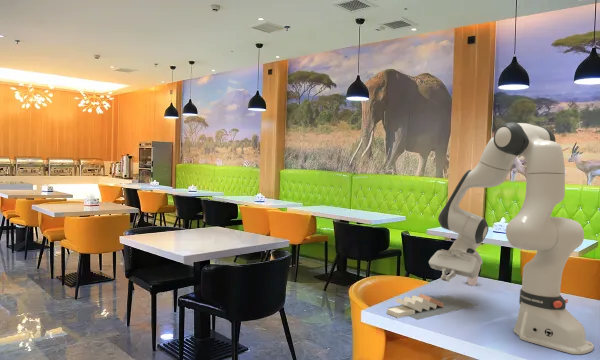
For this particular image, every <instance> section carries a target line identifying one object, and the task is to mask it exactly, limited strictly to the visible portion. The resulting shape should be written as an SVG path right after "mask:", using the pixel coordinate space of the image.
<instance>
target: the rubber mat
mask: <svg viewBox="0 0 600 360" xmlns="http://www.w3.org/2000/svg"><path fill="white" fill-rule="evenodd" d="M432 298H433V299H436V300H438V301H440V302H442V303H444V305H443V308H442V307H439V306H437V307H436V309H434V308H431V307H430V308H429V311H428V310H425V309H422V312H419V311H416V310H415V314H412V315H408V316H407V317H410V318H412V319H415V320H417V321H418V320H422V319H426V318H430V317H435V316H440V315H442V314H446V313H452V312H456V311H459V310H465V309H468V308H471V307H477V306H478V304H475V303H472V302H469V301H465V300H463V299H460V298H456V297H453V296H450V295H444V296H439V297H432ZM400 306H404V305H402V304H399V305H396V306H395V305H394V306H390V307H388V309H390V308H395V307H400Z"/></svg>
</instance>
